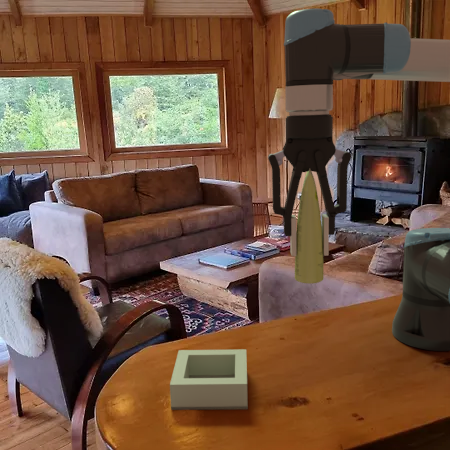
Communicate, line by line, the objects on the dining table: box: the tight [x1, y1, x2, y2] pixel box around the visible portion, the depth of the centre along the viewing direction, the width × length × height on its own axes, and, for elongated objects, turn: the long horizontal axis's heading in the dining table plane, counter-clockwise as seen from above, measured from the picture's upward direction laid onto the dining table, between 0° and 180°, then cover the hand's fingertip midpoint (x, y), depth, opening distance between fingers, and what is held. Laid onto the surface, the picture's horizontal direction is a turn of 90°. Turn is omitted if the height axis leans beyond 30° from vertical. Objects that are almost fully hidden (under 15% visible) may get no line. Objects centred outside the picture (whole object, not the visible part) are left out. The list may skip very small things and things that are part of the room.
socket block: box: [169, 348, 248, 411], centre depth 91 cm, size 12×12×4 cm
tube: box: [294, 168, 324, 285], centre depth 88 cm, size 6×5×20 cm
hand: (309, 253), depth 89 cm, fingers closed on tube, 5 cm apart
